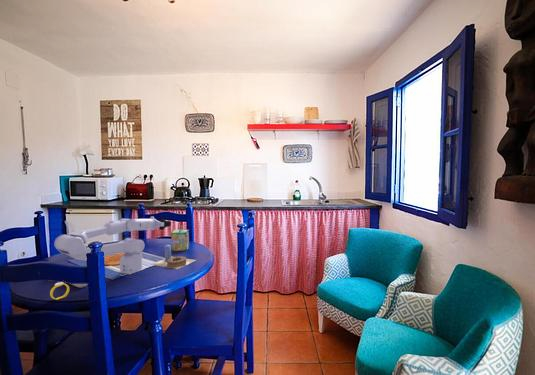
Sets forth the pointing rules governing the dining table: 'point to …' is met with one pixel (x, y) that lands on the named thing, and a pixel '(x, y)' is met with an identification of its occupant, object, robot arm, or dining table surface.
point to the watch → (58, 286)
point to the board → (164, 264)
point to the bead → (176, 261)
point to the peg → (167, 252)
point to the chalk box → (180, 239)
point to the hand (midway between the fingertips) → (165, 223)
